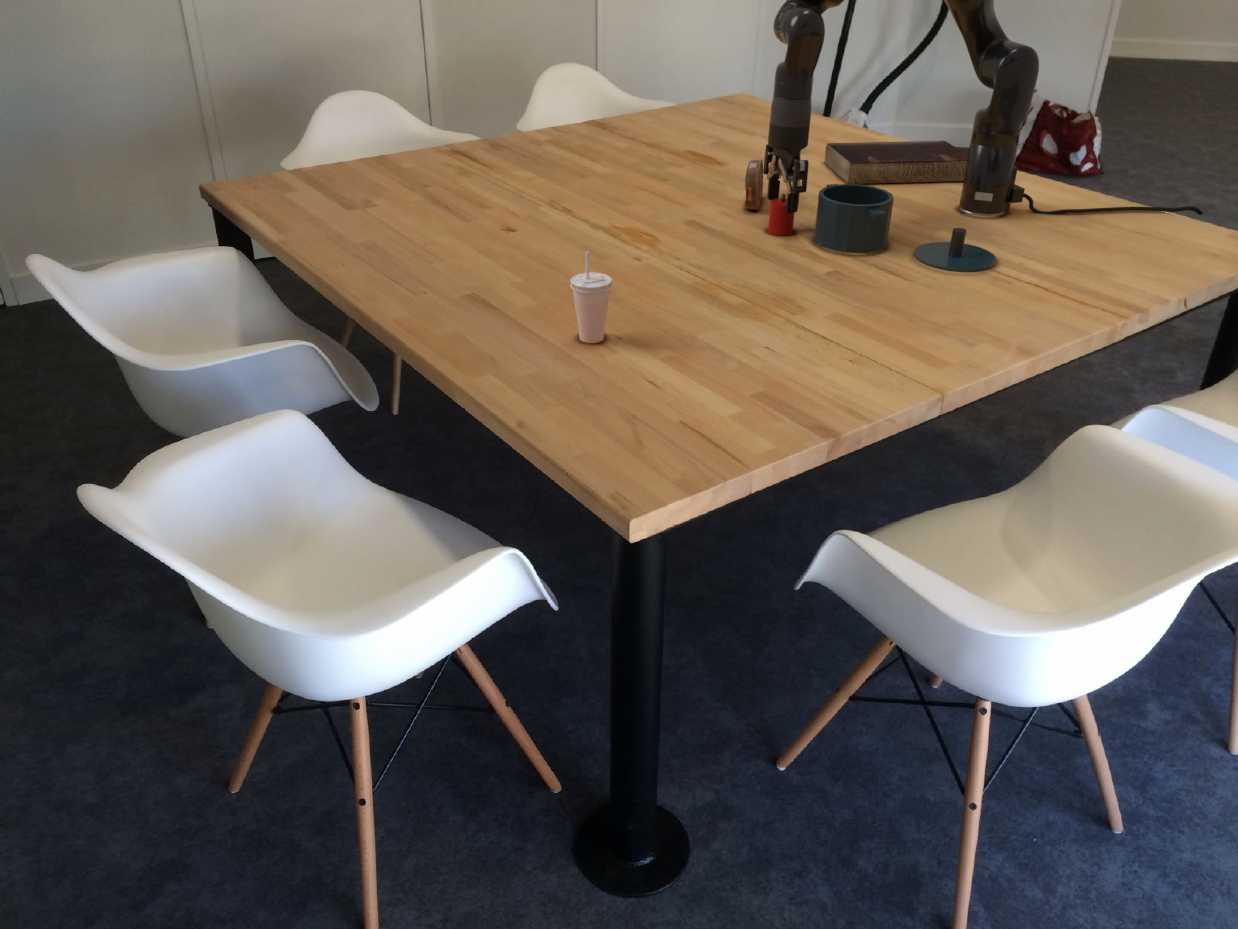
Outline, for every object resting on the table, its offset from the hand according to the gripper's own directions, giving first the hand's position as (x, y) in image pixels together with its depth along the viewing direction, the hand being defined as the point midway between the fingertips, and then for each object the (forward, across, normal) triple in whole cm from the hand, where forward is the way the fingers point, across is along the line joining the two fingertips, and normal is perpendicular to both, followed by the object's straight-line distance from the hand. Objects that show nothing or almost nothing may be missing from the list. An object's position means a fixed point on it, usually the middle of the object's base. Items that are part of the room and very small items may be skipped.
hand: (781, 205), depth 207 cm
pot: (+5, -10, -10) cm, 15 cm away
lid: (+4, -24, -24) cm, 34 cm away
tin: (+5, +18, -2) cm, 19 cm away
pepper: (+5, 0, 0) cm, 5 cm away
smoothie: (+6, -38, +50) cm, 63 cm away
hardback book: (+5, +31, -44) cm, 54 cm away
